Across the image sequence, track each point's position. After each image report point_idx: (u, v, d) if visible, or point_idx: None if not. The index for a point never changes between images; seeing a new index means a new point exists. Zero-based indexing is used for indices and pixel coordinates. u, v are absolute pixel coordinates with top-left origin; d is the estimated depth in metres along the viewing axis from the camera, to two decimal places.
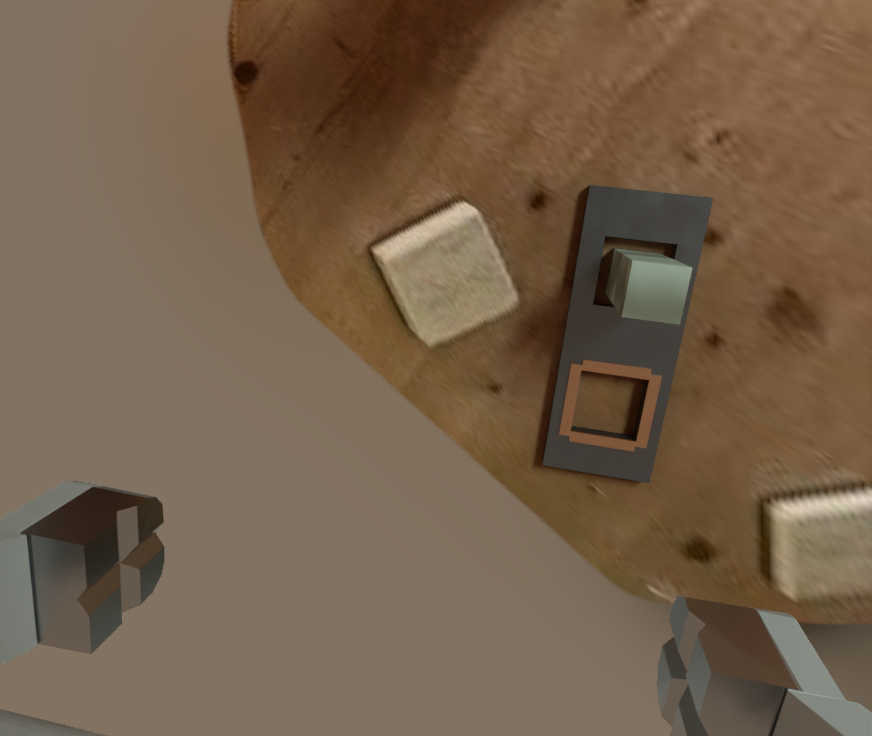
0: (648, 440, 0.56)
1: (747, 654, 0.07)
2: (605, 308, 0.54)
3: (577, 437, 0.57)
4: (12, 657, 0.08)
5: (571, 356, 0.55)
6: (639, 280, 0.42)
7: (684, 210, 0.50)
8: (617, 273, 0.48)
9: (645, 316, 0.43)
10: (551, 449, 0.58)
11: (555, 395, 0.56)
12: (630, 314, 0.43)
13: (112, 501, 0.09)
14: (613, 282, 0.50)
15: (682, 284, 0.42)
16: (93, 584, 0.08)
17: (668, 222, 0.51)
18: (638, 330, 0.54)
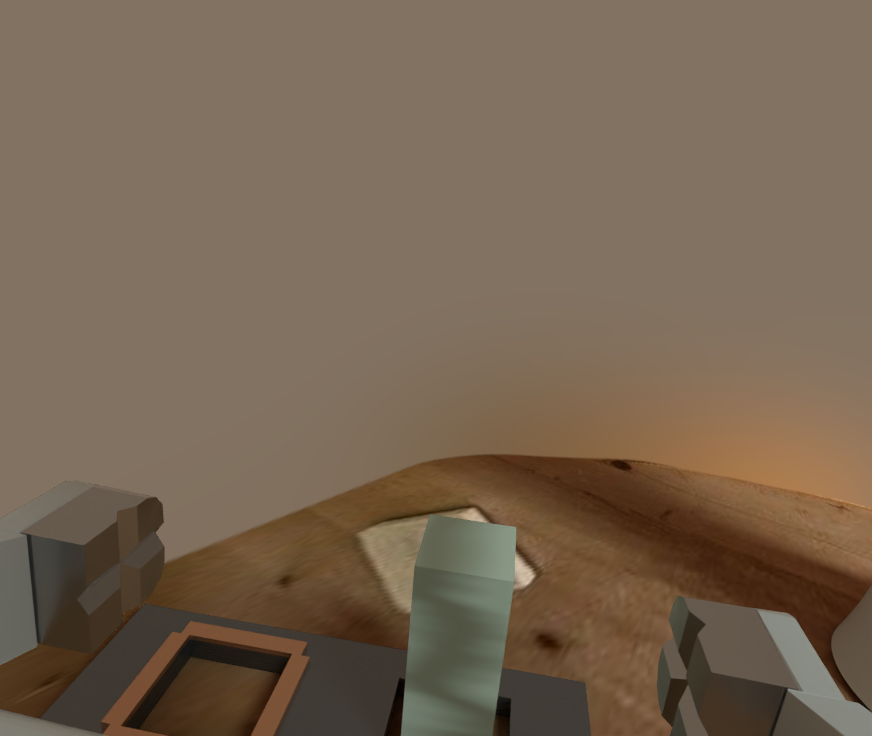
0: None
1: (746, 654, 0.07)
2: (391, 694, 0.31)
3: (173, 642, 0.33)
4: (12, 657, 0.08)
5: (317, 647, 0.34)
6: (486, 531, 0.27)
7: None
8: None
9: (430, 534, 0.27)
10: (166, 615, 0.35)
11: (257, 625, 0.35)
12: (433, 521, 0.28)
13: (112, 501, 0.09)
14: None
15: (484, 570, 0.24)
16: (93, 584, 0.08)
17: None
18: None
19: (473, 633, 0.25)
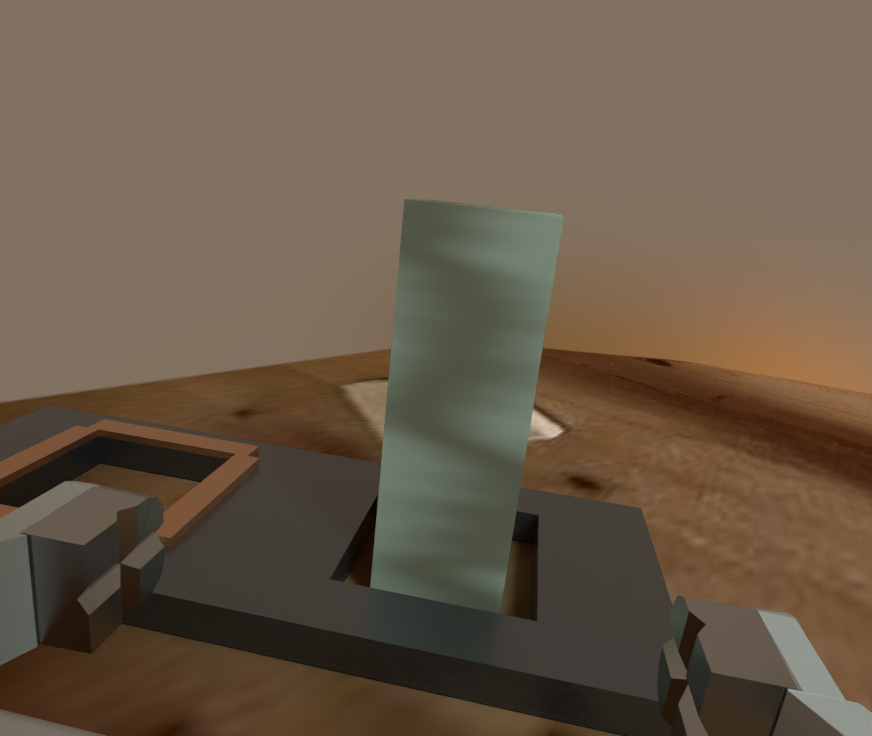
0: None
1: (746, 654, 0.07)
2: (369, 499, 0.22)
3: (74, 433, 0.24)
4: (12, 657, 0.08)
5: (272, 454, 0.25)
6: None
7: (640, 641, 0.16)
8: None
9: (431, 200, 0.18)
10: (75, 415, 0.26)
11: (195, 432, 0.26)
12: None
13: (112, 501, 0.09)
14: None
15: (514, 211, 0.15)
16: (93, 584, 0.08)
17: (596, 608, 0.18)
18: (296, 537, 0.19)
19: (493, 319, 0.16)
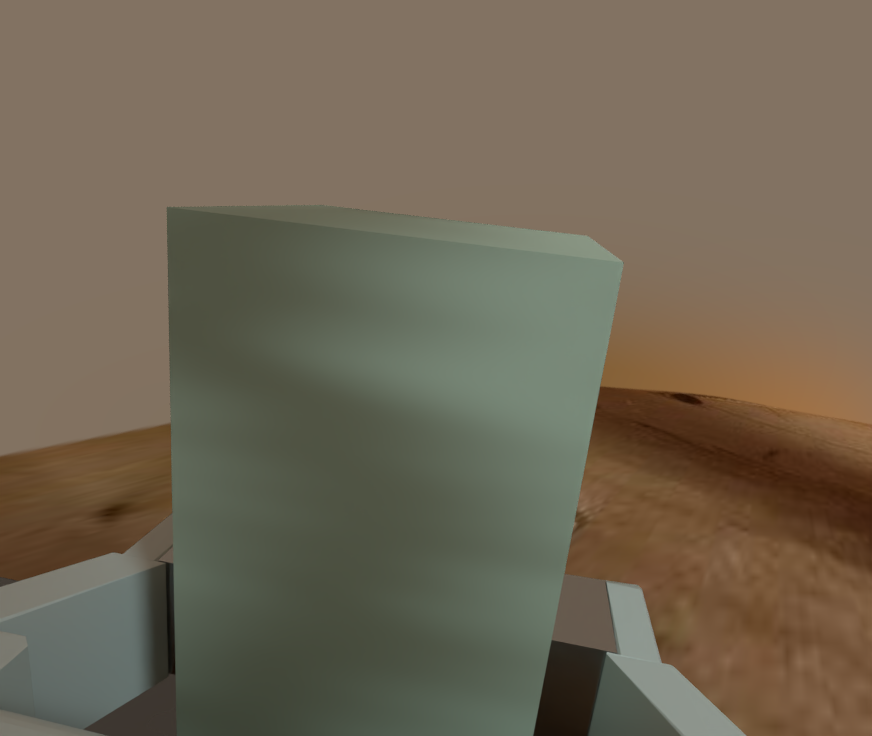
0: None
1: (579, 621, 0.08)
2: None
3: None
4: (146, 689, 0.08)
5: None
6: (493, 227, 0.08)
7: None
8: None
9: (297, 208, 0.08)
10: None
11: None
12: (323, 206, 0.09)
13: None
14: None
15: (479, 241, 0.05)
16: None
17: None
18: None
19: (425, 532, 0.06)
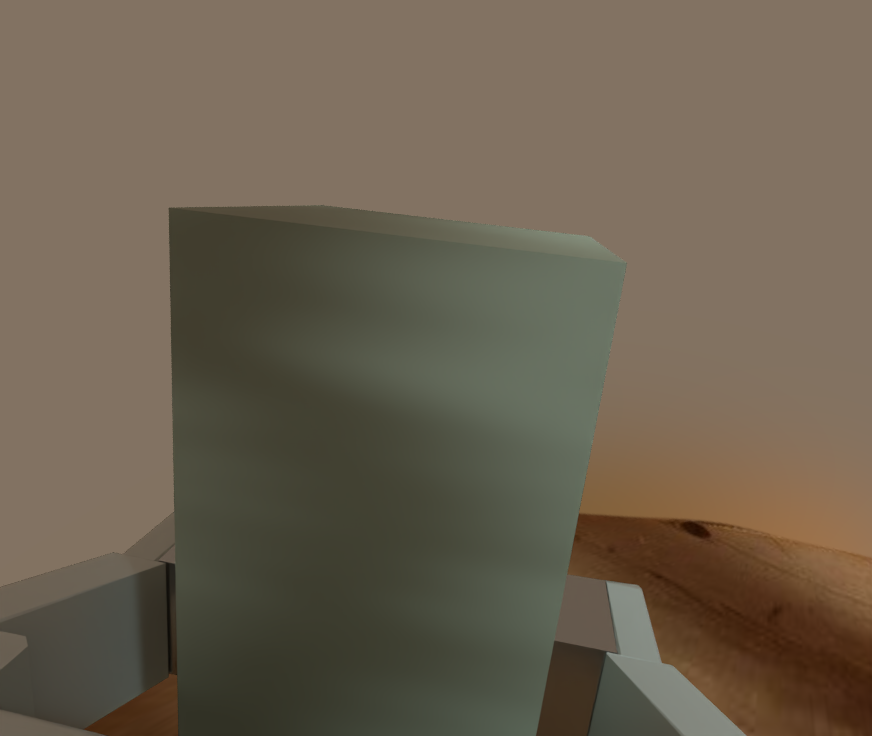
0: None
1: (579, 621, 0.08)
2: None
3: None
4: (146, 689, 0.08)
5: None
6: (495, 227, 0.08)
7: None
8: None
9: (298, 208, 0.08)
10: None
11: None
12: (325, 207, 0.09)
13: None
14: None
15: (482, 241, 0.05)
16: None
17: None
18: None
19: (427, 532, 0.06)
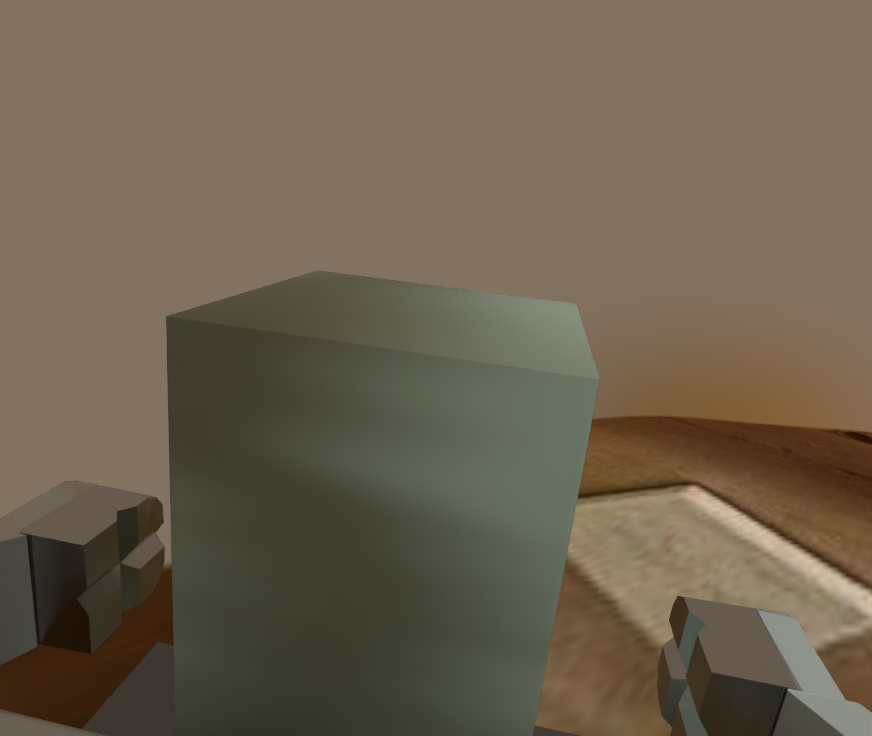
0: None
1: (747, 654, 0.07)
2: None
3: None
4: (12, 657, 0.08)
5: None
6: (483, 299, 0.08)
7: None
8: None
9: (293, 286, 0.08)
10: None
11: None
12: (319, 276, 0.09)
13: (112, 501, 0.09)
14: None
15: (464, 347, 0.06)
16: (93, 584, 0.08)
17: None
18: None
19: (414, 619, 0.06)
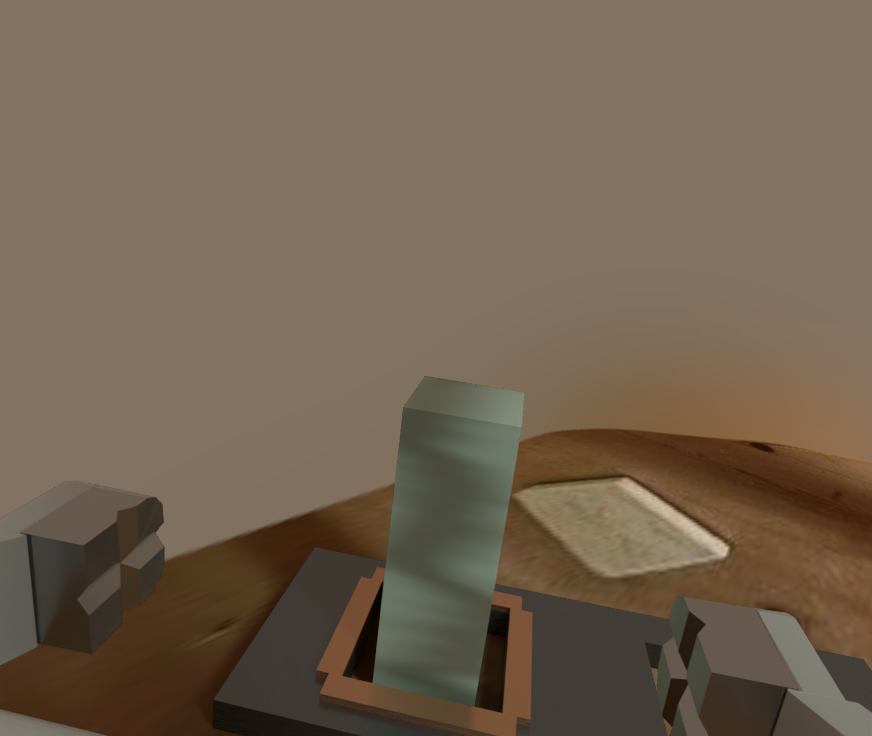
0: (338, 704, 0.21)
1: (746, 654, 0.07)
2: (644, 659, 0.26)
3: (367, 588, 0.28)
4: (12, 657, 0.08)
5: (533, 603, 0.28)
6: (490, 392, 0.23)
7: None
8: None
9: (423, 388, 0.23)
10: (344, 560, 0.30)
11: None
12: (428, 380, 0.24)
13: (112, 501, 0.09)
14: None
15: (486, 417, 0.20)
16: (93, 584, 0.08)
17: None
18: (616, 709, 0.23)
19: (469, 495, 0.21)
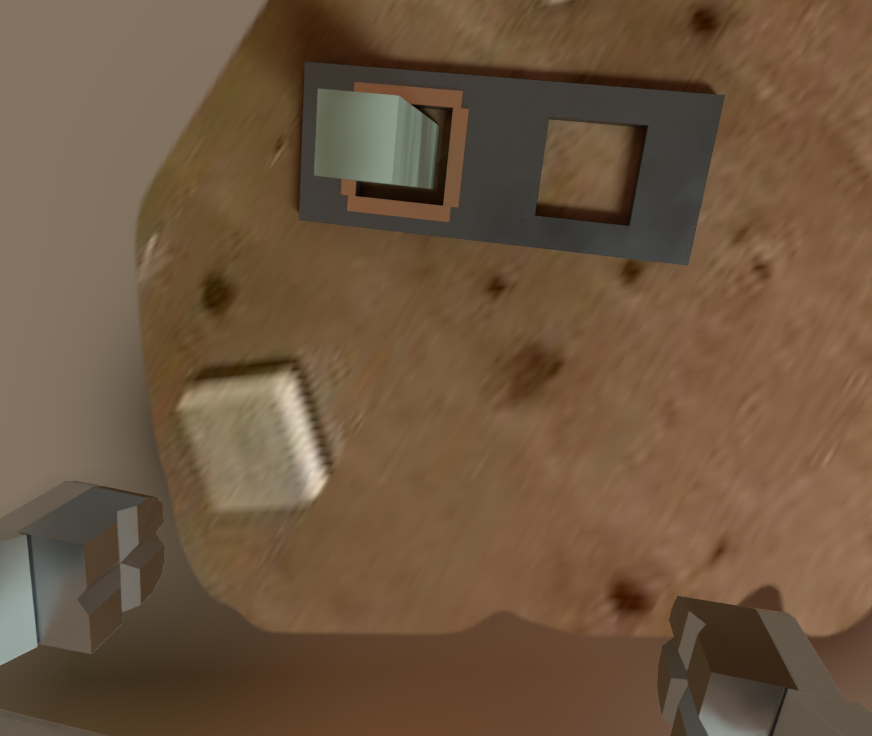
0: (358, 213, 0.41)
1: (747, 653, 0.07)
2: (543, 135, 0.38)
3: None
4: (12, 657, 0.08)
5: (472, 91, 0.38)
6: (371, 109, 0.29)
7: (674, 230, 0.38)
8: None
9: (321, 124, 0.29)
10: (330, 73, 0.39)
11: (412, 72, 0.38)
12: (322, 101, 0.29)
13: (112, 501, 0.09)
14: None
15: (368, 172, 0.30)
16: (93, 584, 0.08)
17: (660, 211, 0.38)
18: (512, 185, 0.39)
19: None
